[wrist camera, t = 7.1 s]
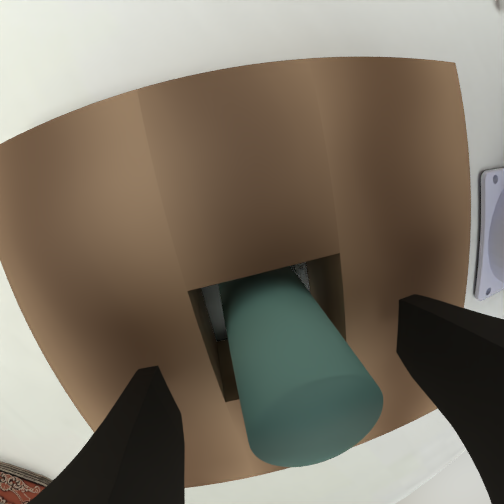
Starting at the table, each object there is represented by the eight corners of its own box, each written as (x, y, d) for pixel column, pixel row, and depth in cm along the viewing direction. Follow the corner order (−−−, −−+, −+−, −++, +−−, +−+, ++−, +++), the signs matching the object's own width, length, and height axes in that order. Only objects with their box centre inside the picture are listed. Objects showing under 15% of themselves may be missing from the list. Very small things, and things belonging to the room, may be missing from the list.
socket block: (396, 76, 12) (455, 62, 8) (407, 365, 17) (442, 405, 14) (28, 152, 10) (-28, 159, 7) (147, 436, 16) (144, 491, 12)
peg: (286, 240, 13) (386, 353, 6) (297, 306, 15) (379, 439, 7) (210, 260, 13) (232, 403, 6) (229, 325, 14) (263, 478, 7)
